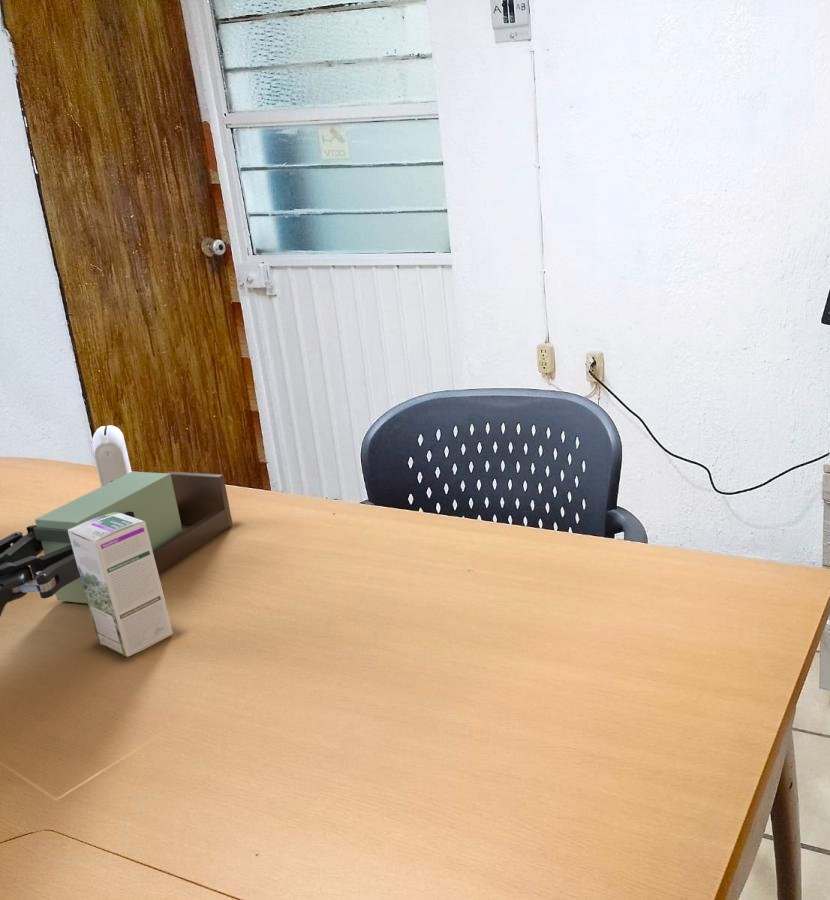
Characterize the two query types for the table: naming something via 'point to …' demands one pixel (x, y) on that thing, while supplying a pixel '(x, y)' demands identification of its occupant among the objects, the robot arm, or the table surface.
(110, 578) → the syrup box
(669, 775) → the table surface
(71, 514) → the container
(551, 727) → the table surface
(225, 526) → the rack
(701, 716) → the table surface
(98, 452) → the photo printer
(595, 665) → the table surface
